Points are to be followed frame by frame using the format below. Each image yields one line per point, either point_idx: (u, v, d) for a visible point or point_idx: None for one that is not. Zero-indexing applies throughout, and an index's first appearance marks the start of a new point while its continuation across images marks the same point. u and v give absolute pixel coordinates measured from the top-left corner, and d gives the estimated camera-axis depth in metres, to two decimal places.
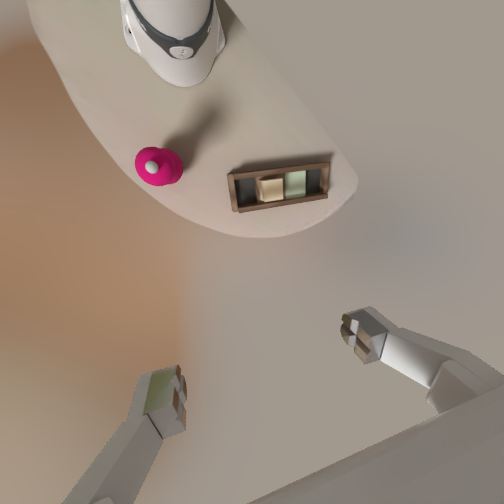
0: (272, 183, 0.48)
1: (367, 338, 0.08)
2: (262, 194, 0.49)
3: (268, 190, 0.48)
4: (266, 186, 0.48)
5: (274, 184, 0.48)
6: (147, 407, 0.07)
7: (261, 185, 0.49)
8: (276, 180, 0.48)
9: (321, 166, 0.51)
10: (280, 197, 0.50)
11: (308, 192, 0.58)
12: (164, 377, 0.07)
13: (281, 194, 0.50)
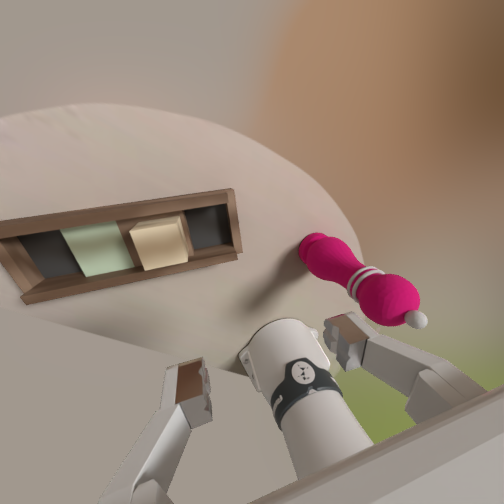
0: (165, 259, 0.23)
1: (346, 345, 0.08)
2: (181, 235, 0.24)
3: (172, 246, 0.23)
4: (178, 252, 0.23)
5: (161, 258, 0.23)
6: (178, 397, 0.07)
7: (185, 247, 0.26)
8: (158, 265, 0.23)
9: (46, 295, 0.23)
10: (138, 234, 0.21)
11: None
12: (191, 369, 0.08)
13: (137, 240, 0.22)
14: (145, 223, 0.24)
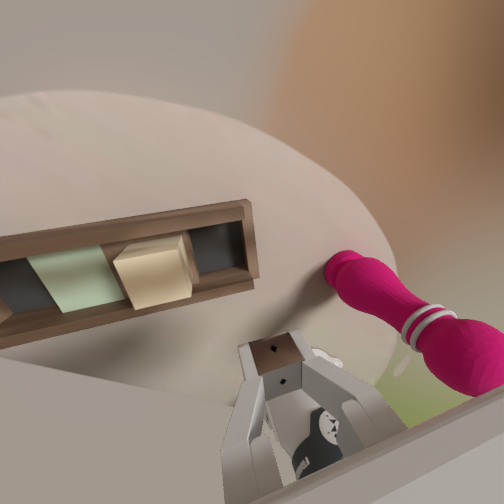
0: (162, 295, 0.18)
1: None
2: (183, 262, 0.18)
3: (171, 278, 0.17)
4: (179, 286, 0.18)
5: (157, 294, 0.18)
6: (259, 369, 0.07)
7: (189, 275, 0.20)
8: (152, 303, 0.18)
9: (8, 340, 0.18)
10: (124, 264, 0.16)
11: None
12: (263, 346, 0.08)
13: (124, 272, 0.16)
14: (136, 247, 0.18)
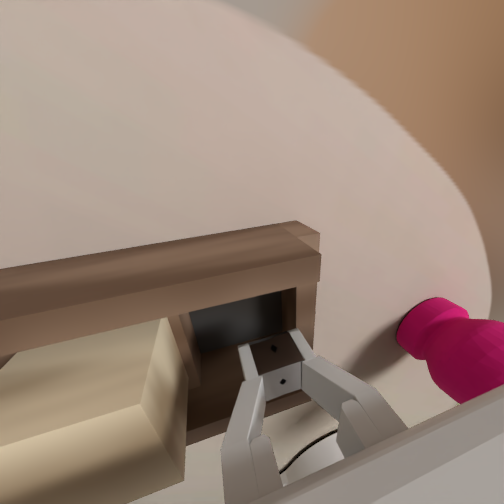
0: (105, 499, 0.06)
1: None
2: (165, 400, 0.07)
3: (128, 464, 0.06)
4: (152, 472, 0.07)
5: (87, 502, 0.06)
6: (259, 370, 0.07)
7: (180, 401, 0.09)
8: None
9: None
10: None
11: None
12: (263, 346, 0.08)
13: None
14: (38, 360, 0.07)
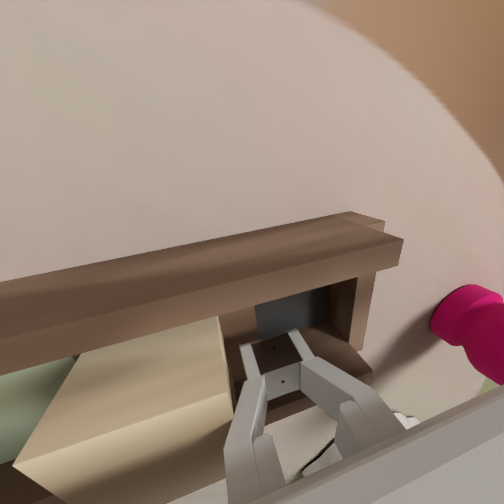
0: (179, 486, 0.07)
1: None
2: (231, 391, 0.07)
3: (205, 452, 0.06)
4: (223, 459, 0.07)
5: (164, 489, 0.07)
6: (261, 369, 0.07)
7: (234, 393, 0.09)
8: None
9: None
10: (59, 462, 0.05)
11: None
12: (264, 346, 0.08)
13: (60, 478, 0.05)
14: (109, 354, 0.07)
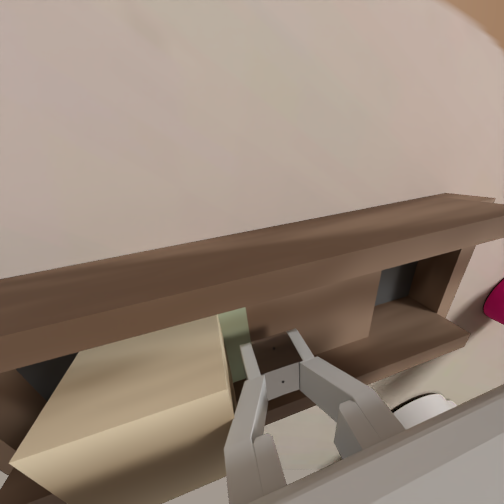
0: (178, 484, 0.07)
1: None
2: (230, 389, 0.07)
3: (204, 450, 0.06)
4: (222, 458, 0.07)
5: (162, 487, 0.06)
6: (262, 369, 0.07)
7: (233, 392, 0.09)
8: (151, 503, 0.07)
9: None
10: (57, 460, 0.05)
11: None
12: (265, 346, 0.08)
13: (58, 476, 0.05)
14: (108, 352, 0.07)
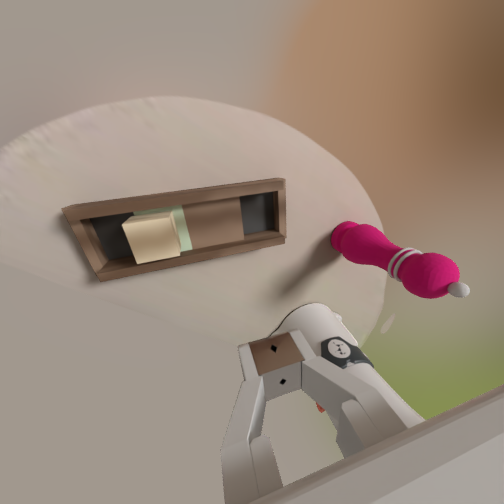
0: (158, 253, 0.24)
1: None
2: (173, 229, 0.24)
3: (165, 240, 0.23)
4: (170, 246, 0.24)
5: (153, 252, 0.24)
6: (259, 370, 0.07)
7: (178, 241, 0.26)
8: (150, 259, 0.24)
9: (119, 272, 0.25)
10: (130, 227, 0.22)
11: None
12: (263, 346, 0.08)
13: (129, 234, 0.22)
14: (138, 217, 0.24)
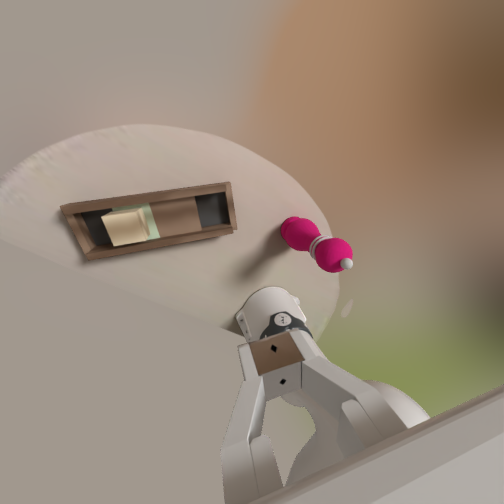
0: (129, 238, 0.32)
1: None
2: (141, 221, 0.33)
3: (133, 228, 0.32)
4: (138, 233, 0.33)
5: (125, 237, 0.32)
6: (259, 370, 0.07)
7: (146, 230, 0.35)
8: (123, 242, 0.33)
9: (102, 253, 0.34)
10: (107, 219, 0.31)
11: (103, 208, 0.35)
12: (263, 346, 0.08)
13: (107, 223, 0.31)
14: (114, 212, 0.33)
